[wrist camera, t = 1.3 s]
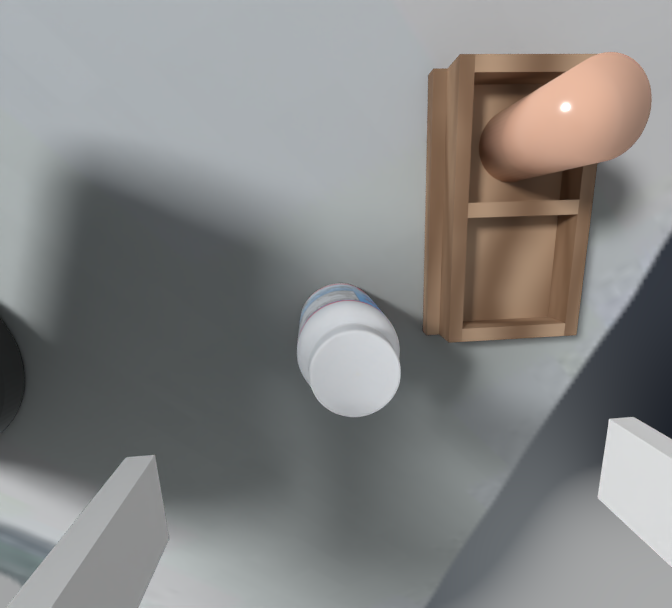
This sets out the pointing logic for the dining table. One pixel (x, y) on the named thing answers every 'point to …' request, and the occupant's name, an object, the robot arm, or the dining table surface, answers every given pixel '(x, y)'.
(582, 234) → the rack
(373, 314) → the pill bottle
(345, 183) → the dining table surface
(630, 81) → the peach capsule shape
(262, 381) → the dining table surface
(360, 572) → the dining table surface
